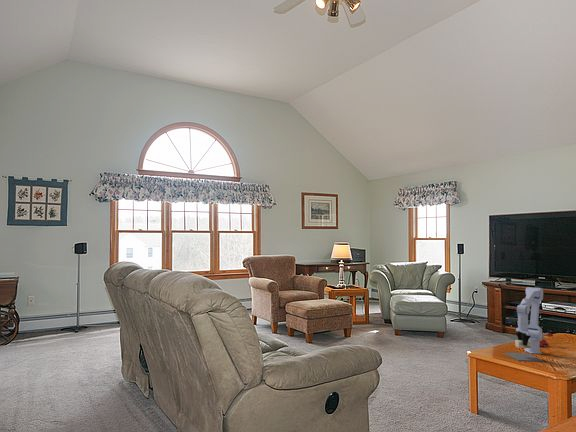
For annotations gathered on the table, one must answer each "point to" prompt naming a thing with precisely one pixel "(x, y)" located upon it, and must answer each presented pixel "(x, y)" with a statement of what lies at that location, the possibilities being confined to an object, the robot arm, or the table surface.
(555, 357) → the table surface
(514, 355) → the charcoal rubber mat
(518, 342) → the birch card box
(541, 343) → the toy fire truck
